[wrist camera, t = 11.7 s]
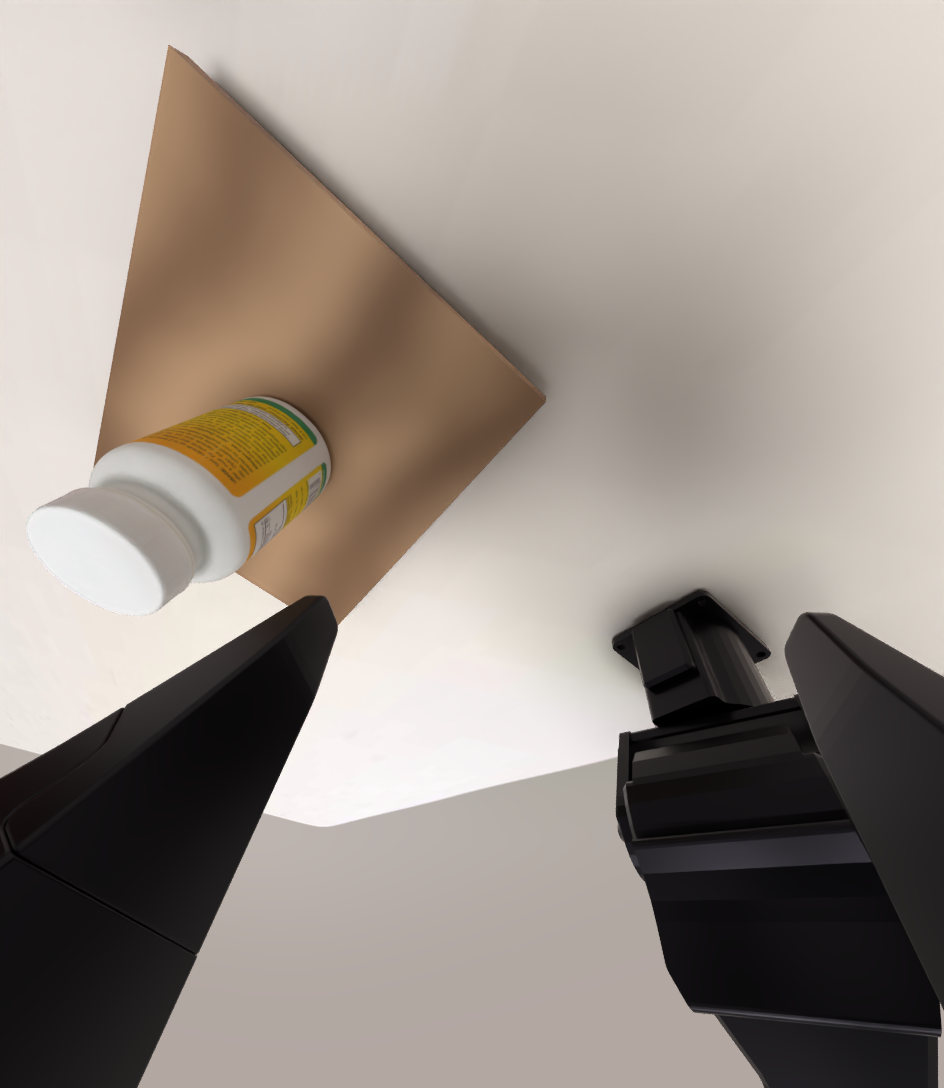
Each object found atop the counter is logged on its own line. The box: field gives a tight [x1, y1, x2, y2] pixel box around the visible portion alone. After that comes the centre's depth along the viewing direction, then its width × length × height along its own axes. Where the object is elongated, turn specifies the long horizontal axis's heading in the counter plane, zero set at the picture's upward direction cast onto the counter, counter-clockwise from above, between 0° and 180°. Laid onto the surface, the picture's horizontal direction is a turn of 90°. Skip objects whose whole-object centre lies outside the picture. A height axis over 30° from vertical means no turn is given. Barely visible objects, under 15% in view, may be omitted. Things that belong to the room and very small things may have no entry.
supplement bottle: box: [26, 396, 331, 616], centre depth 15 cm, size 5×5×10 cm
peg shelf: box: [93, 45, 546, 625], centre depth 20 cm, size 16×20×2 cm
